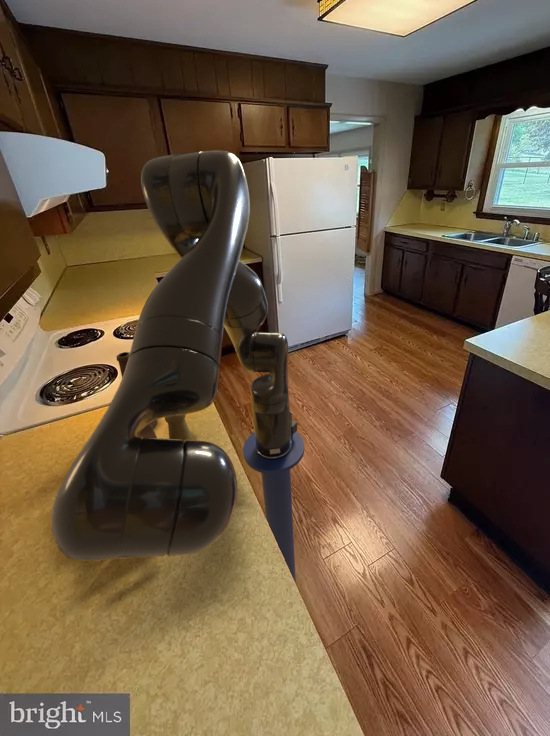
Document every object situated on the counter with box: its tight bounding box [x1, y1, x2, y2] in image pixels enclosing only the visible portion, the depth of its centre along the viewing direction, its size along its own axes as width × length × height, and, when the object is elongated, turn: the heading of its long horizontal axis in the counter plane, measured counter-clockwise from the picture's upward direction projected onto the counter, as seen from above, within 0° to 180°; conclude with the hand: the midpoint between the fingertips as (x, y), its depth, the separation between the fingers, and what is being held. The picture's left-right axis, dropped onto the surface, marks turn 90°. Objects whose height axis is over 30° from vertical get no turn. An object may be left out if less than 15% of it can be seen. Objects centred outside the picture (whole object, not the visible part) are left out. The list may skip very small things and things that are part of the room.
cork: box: [164, 414, 194, 441], centre depth 87 cm, size 6×6×11 cm
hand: (145, 494), depth 49 cm, fingers closed
